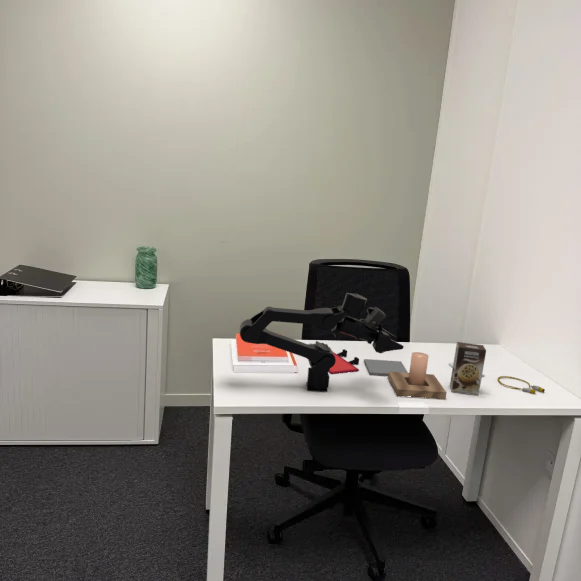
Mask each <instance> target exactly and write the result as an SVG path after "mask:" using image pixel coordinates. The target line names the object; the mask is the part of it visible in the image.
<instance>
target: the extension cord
mask: <svg viewBox="0 0 581 581" xmlns="http://www.w3.org/2000/svg"><path fill="white" fill-rule="evenodd" d="M500 379H510V380H512V379H513V380H516V381H519V382H523V383H525V384H527V385H528V386H529V387H523V388H520V387H516V386H512V385H508V384H505V383H503V382H501V380H500ZM497 382H498V383H499V384H500V385H501V386H503V387H505V388H506V389H507V388H509V389H512V390H521V391H522V392H525V393H528V394H531V395H536V391H537V392H539V393H541V394H544V393H545V388H543V387H541V386H538V385H534V384H533V385H531V384H530V383H529V382H528V381H526V380H523V379H521V378H517V377H514V376H507V375H502V376H498V378H497Z"/></svg>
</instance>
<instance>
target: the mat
mask: <svg viewBox="0 0 581 581" xmlns="http://www.w3.org/2000/svg"><path fill="white" fill-rule="evenodd" d="M363 363H364V365H365V367H367V368H366V370H367V372H368V374H369V376H379V377H388V372H403V373H409V371H407V368H406V367H405V365H404V364H403V363H402V361H399V360H388V359H387V360H384V359H383V360H382V359H372V358H371V359H368V358H364V359H363Z"/></svg>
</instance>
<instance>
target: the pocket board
mask: <svg viewBox="0 0 581 581" xmlns="http://www.w3.org/2000/svg"><path fill="white" fill-rule="evenodd" d="M408 379H409V372H408V373H403V372H388V376H387V380H388V381H389V384H390V387H393V388H392V390H393V389H394V390H393V392H394V391H395V392H394V393H396V394H395V396H396V395H397V396H396V397H398V396H411V397H410V398H413V397H424V398H423V399H429V398H436V399H435V400H445V399H446V400H447V391H446V389H445V388H444V386H443V384H441V383H440V381H439V380H438V378H437V376H436V375H435V374H433V373H432V374H431V373H430V374H429V373H426V378H425V385H424V386H418V385H408ZM425 397H426V398H425Z"/></svg>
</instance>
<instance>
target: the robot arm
mask: <svg viewBox="0 0 581 581" xmlns="http://www.w3.org/2000/svg"><path fill="white" fill-rule="evenodd" d="M367 301H368V298H366V297H364V296H363V295H360V294H358V293H349V292H346V294H345V296H344V299H343V302H342V305H338V306H335V307H332V308H330V307H319V308H318V307H317V308H314V309H310V310H309V309H308V310H306V309H294V308H282V307H281V308H280V307H274V306H266V307H265V308H264V309H263V310H261V311H260V312H258V313H256V314H255V315H253V316H252V317H250V318H248V319H245V320H243V321H242V322H241V323H240V325H239V336H240V339H241V340H242V341H243V342H244V343H247V344H248V343H249V344H254V345H267V346H270V347H273V348H276V349H280V350H283V351H285V352H287V353H290V354H293V355H297V356H298V357H303V358H304V359H306V360H308V364H309V366H310V367H308V368H307V369H308V370H307V377H306V382H305V384H306V386H305V387H306V390H307V391H309V392H310V391H311V392H322V393H323V392H326V393H327V392H328V388H329V387H330V386H329V385H330V384H329V383H330V373H329V370H330V368H332V367H333V366H334V364H335V362H336V359H335V356H334V354H333V352H334V351H333V350H332V348H331V347H330V348H329V345H328V344H327V343H324V344H322V343H323V342H320V341H317V340H316V341H315V343H314V344H315V345H308V344H309V343H306V342H302V341H299V340H296V339H295V338H291V337H288V336H286V335H283V334H280V333H276V332H274V331H271V330H269V329H267V327H268V326H269V325H270V324H271V323H272V322H279V323H289V324H300V325H301V324H304V325H309V326H312V327H314V328H317V329H322V330H327V331H330V330H331V332H332V333H333V335H334V337H335V338H336V339H338V338H339V336H340V334H344V335H347V336H350V337H352V338H355V340H357V341H360V340H362V341H365V342H367V344H368V345H372V348H373V350H374V351H375V352H376V353H378V354H383V353H386V352H393V351H397V350H398V351H400V350H403V349H404V345H402V344H401V343H399V342H397V341H396V340H397V336H395V335H394V334H392V333H391V332H389V331H387V330H386V329H384V328H383V327H382V324H381V322H382V321H383V320H385V319H386V318H387V314H385V312H384V311H383V310H381V309H380V308H378V307H377V306H374V307H371V306H369V307H368V308H367V309H366V313H367V316H366V317H365V319H364V318H359V317H361V316H362V313H363V310H364V309H365V306H366V303H367ZM358 318H359V319H358ZM332 351H333V352H332Z"/></svg>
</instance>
